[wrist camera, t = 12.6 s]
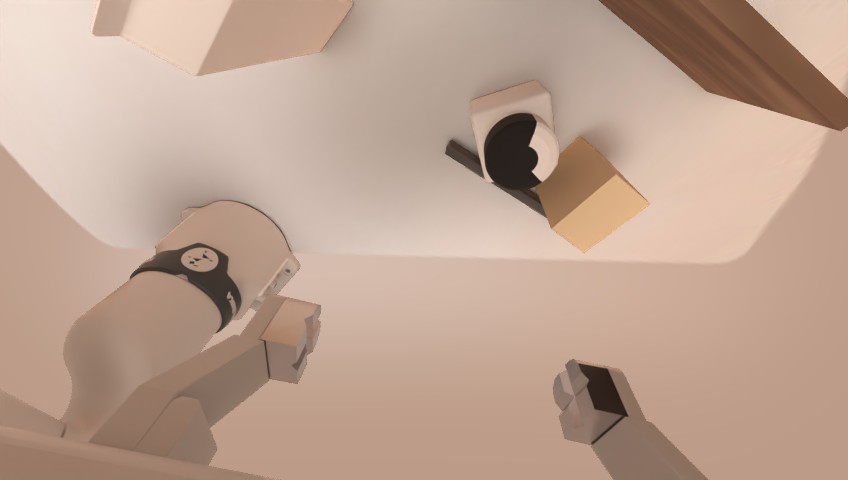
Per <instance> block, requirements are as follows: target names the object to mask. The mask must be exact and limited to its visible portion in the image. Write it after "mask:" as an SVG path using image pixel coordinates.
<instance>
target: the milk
mask: <svg viewBox="0 0 848 480" xmlns="http://www.w3.org/2000/svg"><path fill="white" fill-rule="evenodd" d="M352 6H353V3H352V1H351V0H97V4H96V7H95V11H94V15H93V19H92V23H91V27H90V32H91V33H92V34H93V35H95V36H120V37H123V38H124V39H126V40H128V41H130V42H132V43H134V44H136V45H137V46H139V47H141V48H143V49H145V50H147V51H149V52H150V53H152V54H154V55H156V56H158V57H160V58H162V59H163V60H165V61H167V62H169V63H171V64H173V65H175V66H176V67H178V68H180V69H182V70H184V71H186V72H188V73H189V74H191V75H193V76H201V75H206V74H211V73H216V72H221V71H226V70H231V69H236V68H241V67H246V66H251V65H256V64H261V63H266V62H271V61H276V60H281V59H287V58H292V57H297V56H302V55H307V54H312V53H317V52H320V51H321V50H322V49H323V47H324V46H325V44H326V43H327V42H328V40H329V39H330V37H331V36H332V34H333V33H334V32H335V30H336V29H337V27H338V26H339V24H340V23H341V21H342V20H343V19H344V17H345V16H346V14H347V13H348V11H349V10H350V9H351V7H352Z"/></svg>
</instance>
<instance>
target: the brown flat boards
mask: <svg viewBox="0 0 848 480" xmlns="http://www.w3.org/2000/svg"><path fill="white" fill-rule="evenodd" d="M599 1H600V2H601V3H602V4H604V5H605V6H606V7H607V8H608V9H610V10H611V11H612V12H613V13H614V14H616V15H617V16H618V17H619V18H620V19H621V20H623V21H624V22H625V23H626V24H627V25H629V26H630V27H631V28H632V29H633V30H635V31H636V32H637V33H638V34H639V35H641V36H642V37H643V38H644V39H645V40H646V41H648V42H649V43H650V44H651V45H652V46H654V47H655V48H656V49H657V50H658V51H660V52H661V53H662V54H663V55H664V56H666V57H667V58H668V59H669V60H670V61H671V62H673V63H674V64H675V65H676V66H677V67H679V68H680V69H681V70H682V71H683V72H685V73H686V74H687V75H688V76H689V77H691V78H692V79H693V80H694V81H695V82H696V83H698V84H699V85H700V86H701V87H702V88H704V89H705V90H706V91H707V92H710V93H713V94H717V95H720V96H724V97H727V98H730V99H734V100H737V101H740V102H744V103H747V104H751V105H754V106H757V107H761V108H764V109H768V110H771V111H774V112H778V113H781V114H784V115H788V116H791V117H795V118H798V119H801V120H805V121H808V122H811V123H815V124H818V125H822V126H825V127H828V128H832V129H835V130H838V131H842V130H843V129H845V128H846V127H847V126H848V98H847V97H846V96H845V95H844V94H842V93H841V92H840V91H839V90H838V89H837V88H836V87H835V86H834V85H833V84H832V83H831V82H830V81H829V80H828V79H827V78H826V77H825V76H824V75H823V74H822V73H821V72H820V71H819V70H817V69H816V68H815V67H814V66H813V65H812V64H811V63H810V62H809V61H808V60H807V59H806V58H805V57H804V56H803V55H802V54H801V53H800V52H799V51H798V50H797V49H796V48H795V47H793V46H792V45H791V44H790V43H789V42H788V41H787V40H786V39H785V38H784V37H783V36H782V35H781V34H780V33H779V32H778V31H777V30H776V29H775V28H774V27H773V26H772V25H771V24H770V23H768V22H767V21H766V20H765V19H764V18H763V17H762V16H761V15H760V14H759V13H758V12H757V11H756V10H755V9H754V8H753V7H752V6H751V5H750V4H749V3H748V2H747V1H746V0H599ZM445 154H446V155H448V156H450V157H451V158H453V159H454V160H456V161H457V162H459V163H461V164H462V165H464V166H465V167H466V168H468V169H469V170H471V171H472V172H474V173H476V174H477V175H479V176H480V177H482V178H483V179H485V178H484V174H483V170H482V166H481V161H480V158H478V157H477V156H475V155H474V154H472V153H471V152H469V151H468V150H466V149H464V148H463V147H461V146H460V145H458V144H457V143H455V142H454V141H452V140H451V141H450V142H449V144H448V145H447V147H446V152H445ZM491 183H492V184H494V185H496V186H497V187H499V188H500V189H502V190H504V191H505V192H507V193H508V194H510V195H512V196H513V197H515V198H516V199H518V200H520V201H521V202H523V203H524V204H526V205H527V206H529V207H530V208H531V209H533V210H534V211H536V212H538V213H539V214H541V215H542V216H544V217H546V214H545V211H544V209H543V206H542V204H541V201H540V198H539V196H538V195H536V194H535V193H533V192H531V191H530V190H528V189H526V190H509V189H505V188H503V187H501V186H499V185H497V184H496V183H495V182H491ZM546 218H547V217H546Z"/></svg>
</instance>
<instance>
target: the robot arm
mask: <svg viewBox="0 0 848 480" xmlns="http://www.w3.org/2000/svg"><path fill="white" fill-rule="evenodd" d="M181 220H182V223H180V224H179V225H178V226H177V227H176V228H174V229H173V230H172V231H171V232H170V233H168V234H167V235H166V236H165V237H164V238H163V239H161V240H160V241H159V242H158V243H157V244H156V246H155V248H156V255H155V256H154V257H152V258H151V259H148V260H147V261H145V262H144V263H143V264H141V266H139V268H138V269H137V270H135V271H134V272H133V273H132V275H131V276H130V279H129V281H127V282H126V283H125V284H123V285H122V286H121V287H119V288H118V289H117V290H115V291H114V292H113V293H111V294H110V295H109V296H107V297H106V298H105V299H103V300H102V301H101V302H99V303H98V304H97V305H95V306H94V307H93V308H91V309H90V310H89V311H87V312H86V313H85V314H84V315H82V316H81V317H80V318H78V319H77V320H76V321H75V323H74V324H73V325H72V327H71V328H70V330H69V332H68V334H67V337H66V340H65V343H64V352H63V355H64V360H65V364H66V366H67V369H68V371H69V373H70V376H71V380H72V396H71V400H70V403H69V406H68V408H67V410H66V412H65V414H64V415H63V417H62V418H61V419H60V421H59V420H57V419H55V418H53V417H51V416H50V415H48V414H46V413H44V412H42V411H40V410H38V409H36V408H35V407H33V406H31V405H29V404H27V403H25V402H23V401H22V400H19V399H18V398H16V397H14V396H12V395H10V394H8V393H6V392H4V391H2V390H1V389H0V480H279V479H274V478H269V477H263V476H258V475H253V474H248V473H243V472H238V471H233V470H227V469H222V468H217V467H212V466H209V464H210V462H211V460H212V458H213V457H214V455H215V453H216V451H217V446H216V443H215V440H214V438H213V435H212V433H211V430H210V427H212V426H213V425H214V424H215V423H217V422H218V421H219V420H220V419H222V418H223V417H224V416H225V415H226V414H228V413H229V412H230V411H232V410H233V409H234V408H235V407H237V406H238V405H239V404H240V403H241V402H243V401H244V400H246V399H247V398H248V397H249V396H251V395H252V394H253V393H254V392H255V391H257V390H258V389H259V388H261V387H262V386H263V385H264V384H265V383H267V382H268V381H269V379H272V380H278V381H285V382H289V383H295V384H298V382H299V380H300V378H301V376H302V374H303V372H304V369H305V367H306V365H307V355H308V354H310V353H311V352H313V349H314V347H315V345H316V342H317V339H318V336H319V332H320V321H319V320H318V318H319V316H320V313H321V306H320V305H318V304H313V303H309V302H305V301H301V300H297V299H293V298H289V297H284V296H280V295H277V294H278V293H279V292H280V290H281V289H282V288H283V287H284V286H285V285H286V283H287V282H288V281H289V280H290V279H291V278H292V277H293V276H294V274H295V273H296V272H297V271H298V270H299V269H300V264H299V262H298V261H297V259H296V258H295V257H294V256H293V255H292V253H291V252H290V250H289V248H288V245H287V243H286V240H285V238H284V236H283V235H282V233H281V232H280V230H279V229H278V228H277V226H276V225H275V224H274V223H273V222H272V221H271V220H270V219H268V218H267V217H266V216H265V215H263V214H262V213H260V212H259V211H257V210H255V209H254V208H251V207H249V206H247V205H244V204H241V203H238V202H233V201H218V202H214V203H211V204H209V205H207V206H205V207H202V208H187V209H185V210H184V211H183V212H182V213H181ZM249 308H252V309H254V310H255V311H257V312H256V314H255V315H254V316H253V318H252V319H251V321H250V322H249V323H248V325H247V326H246V327H245V329H244V330H243V332H242V333H241V335H240V336H239V335H233V336H231V337H230V338H227V339H226V340H224V341H222V342H220V343H218V344H216V345H214V346H213V347H211V348H209V349H207V350H205V351H203V352H201V351H202V349H203V348H204V347H205V345H206V344H207V343H208V342H209V340H210V339H211V338H212V337H213V335H214V334H215V333H218V332H219V331H221V330H222V329H223V328H225V327H226V326H227V325H228V324H229V323H230V322H231V321H232V320H239V319H241V318H242V317H243V316H244V314H245V313H246V312H247V311H248V309H249ZM200 352H201V353H200ZM566 369H567V370H566V371H563V372H561V373H559V374H558V375H557V377H556V378H555V381H554V386H553V394H554V399H555V403H556V404H557V405H558V406H559V407H560V409H561V410H562V412H561V414H560V416H559V419H560V422H561V426H562V430H563V434H564V438H565V439H567V440H571V441H576V442H580V443H584V444H588V445H592V446H591V448H592V449H593V451H594V452H595V453H596V455H597V456H598V458H599V459H600V461H601V462H602V464H603V465H604V467H605V468H606V469H607V471H608V472H609V474H610V475H611V477H612V478H613V480H708V479H707V478H706V477H705V476H704V475H703V474H702V473H701V472H700V471H699V470H698V469H697V468H696V467H695V466H694V465H693V464H692V463H691V462H690V461H689V460H688V459H687V458H686V457H685V456H684V455H683V454H682V453H681V452H680V451H679V450H678V449H677V448H676V447H675V446H674V445H673V444H672V443H671V442H670V441H669V440H668V439H667V438H666V437H665V436H664V435H663V434H662V433H661V432H660V431H659V430H658V428H656V426H655V425H654V424H652V423H651V422H648V421H646V419H645V417H644V415H643V413H642V411H641V408H640V407H639V404H638V402H637V400H636V398H635V396H634V394H633V392H632V390H631V388H630V386H629V383H628V381H627V379H626V377H625V375H624V373H623V372H622V371H621V370H620V369H617V368H612V367H608V366H602V365H600V364H594V363H589V362H585V361H580V360H575V359H572V360H570V361H569V362H568V363H567V364H566Z"/></svg>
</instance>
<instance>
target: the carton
mask: <svg viewBox="0 0 848 480" xmlns="http://www.w3.org/2000/svg"><path fill="white" fill-rule="evenodd" d="M535 188H536V191H537V193H538V196H539V198H540V201H541V204H542V206H543V209H544V211H545V214H546V217H547V219H548V222H549V224H550V227H551V229H552V230H554V231H555V232H556V233H558V234H559V235H560V236H562V237H563V238H564V239H566V240H567V241H568V242H570V243H571V244H572V245H574V246H575V247H576V248H578V249H579V250H580V251H582V252H583V253H585V252H586V251H587V250H589V249H590V248H591V247H593V246H594V245H596V244H597V243H598V242H600V241H601V240H602V239H604V238H605V237H606V236H608V235H609V234H610V233H612V232H613V231H615V230H616V229H617V228H619V227H620V226H621V225H623V224H624V223H625V222H627V221H628V220H629V219H631V218H632V217H634V216H635V215H636V214H638V213H639V212H640V211H642V210H643V209H644V208H646V207H647V206H648V205H650V203H649V202H648V201H647V200H646V199H645V198H644V197H643V196H642V195H641V194H640V193H639V192H638V191H637V190H636V189H635V188H634V187H633V186H632V185H631V184H630V183H629V182H628V181H627V180H626V179H625V178H624V177H623V176H622V175H621V174H620V173H619V172H618V171H617V170H616V169H615V168H614V167H613V166H612V164H611V163H610V162H609V161H608V160H607V159H605V158H604V157H603V156H602V155H601V154H600V153H599V152H597V151H596V150H595V149H594V148H593V147H592V146H591V145H589V144H588V143H587V142H586V141H585V140H584V139H583V138H581V137H580V136H579V137H578V138H577V139H576V140H575V141H574V142H573V143H572V144H571V145H570V146H568V147H567V148H566V149H565V150H564V151H563V152H562V153H561V154H560V155H559V158H558V165H557V166H556V167H555V169H554V170H553V172H552V173H551V175H550V176H549V177H548V178H547V179H546V180H544V181H543V182H542V183H540V184H539V185H537V186H535Z"/></svg>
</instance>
